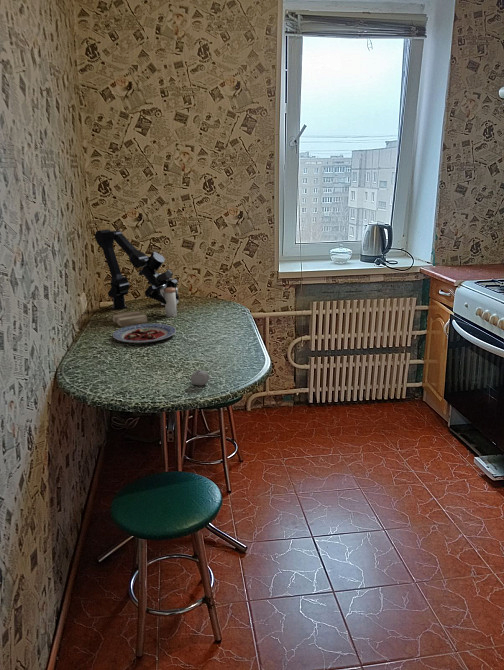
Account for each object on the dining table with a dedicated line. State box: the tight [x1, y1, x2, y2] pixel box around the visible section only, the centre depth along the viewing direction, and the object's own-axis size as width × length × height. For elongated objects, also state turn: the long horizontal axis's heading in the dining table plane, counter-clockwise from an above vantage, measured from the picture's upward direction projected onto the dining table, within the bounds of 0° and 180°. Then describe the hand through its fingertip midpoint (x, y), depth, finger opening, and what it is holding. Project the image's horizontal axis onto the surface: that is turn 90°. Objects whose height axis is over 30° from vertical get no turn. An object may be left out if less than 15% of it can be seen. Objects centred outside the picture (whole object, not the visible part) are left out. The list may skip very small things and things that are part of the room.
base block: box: [112, 310, 148, 328], centre depth 245 cm, size 12×12×3 cm
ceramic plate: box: [112, 323, 177, 344], centre depth 223 cm, size 26×26×3 cm
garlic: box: [190, 369, 210, 386], centre depth 171 cm, size 6×5×5 cm
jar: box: [164, 287, 178, 318], centre depth 253 cm, size 5×5×13 cm
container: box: [160, 278, 179, 306], centre depth 276 cm, size 8×8×13 cm
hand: (172, 301), depth 252 cm, fingers open, 9 cm apart
